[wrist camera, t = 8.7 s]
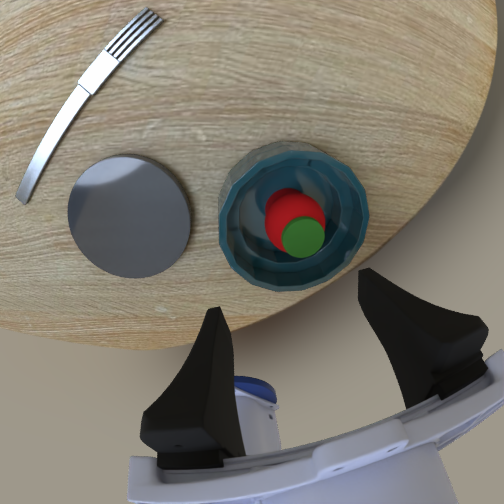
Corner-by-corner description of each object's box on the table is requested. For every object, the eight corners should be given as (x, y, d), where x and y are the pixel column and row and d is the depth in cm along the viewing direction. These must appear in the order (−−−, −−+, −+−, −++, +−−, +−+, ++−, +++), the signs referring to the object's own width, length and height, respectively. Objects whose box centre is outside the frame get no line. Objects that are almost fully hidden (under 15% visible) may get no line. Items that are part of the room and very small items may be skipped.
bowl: (366, 208, 22) (390, 229, 19) (277, 281, 25) (286, 312, 22) (292, 112, 18) (310, 116, 14) (190, 206, 20) (184, 230, 17)
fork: (28, 204, 18) (25, 207, 18) (16, 192, 17) (13, 194, 17) (164, 21, 13) (163, 19, 13) (147, 8, 12) (145, 6, 12)
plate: (219, 214, 21) (219, 220, 20) (141, 291, 24) (139, 298, 23) (119, 125, 17) (114, 127, 16) (54, 222, 19) (49, 227, 19)
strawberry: (322, 208, 21) (347, 239, 17) (282, 241, 22) (298, 278, 18) (289, 171, 19) (310, 194, 15) (248, 208, 20) (256, 240, 16)
